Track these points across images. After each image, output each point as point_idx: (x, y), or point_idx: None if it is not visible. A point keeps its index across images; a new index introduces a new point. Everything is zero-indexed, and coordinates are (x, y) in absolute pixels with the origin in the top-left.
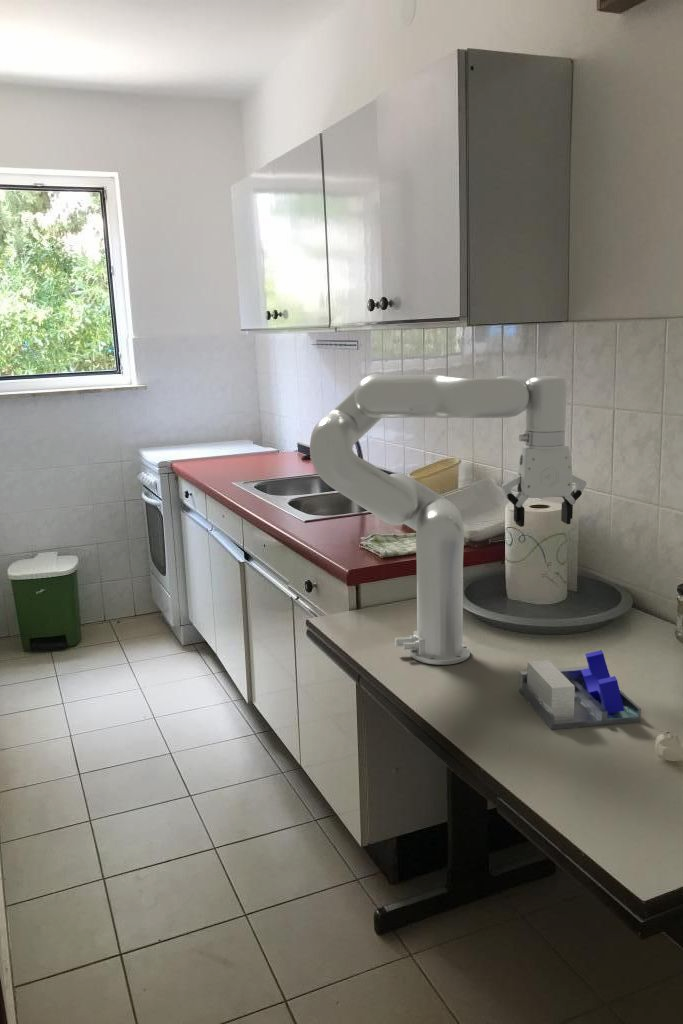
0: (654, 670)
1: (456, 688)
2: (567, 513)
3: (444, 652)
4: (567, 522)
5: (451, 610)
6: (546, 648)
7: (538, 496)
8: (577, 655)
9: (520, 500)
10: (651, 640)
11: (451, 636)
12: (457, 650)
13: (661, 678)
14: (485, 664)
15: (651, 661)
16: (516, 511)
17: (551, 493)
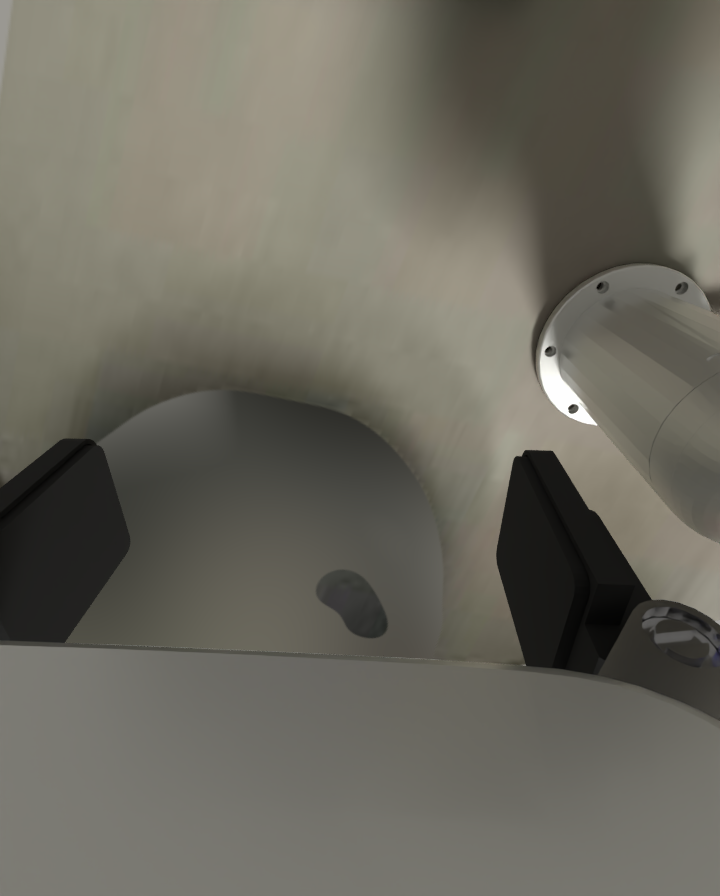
0: (63, 93)
1: (713, 65)
2: (34, 496)
3: (652, 291)
4: (87, 445)
5: (703, 329)
6: (322, 331)
7: (436, 669)
8: (256, 264)
9: (695, 690)
10: (32, 329)
11: (652, 304)
12: (604, 303)
13: (53, 13)
14: (532, 250)
15: (58, 172)
16: (636, 581)
17: (102, 707)
